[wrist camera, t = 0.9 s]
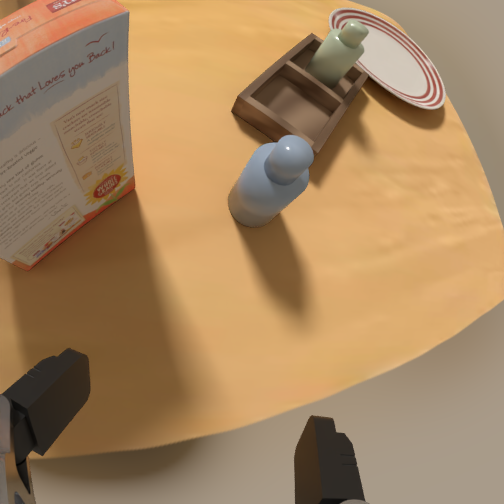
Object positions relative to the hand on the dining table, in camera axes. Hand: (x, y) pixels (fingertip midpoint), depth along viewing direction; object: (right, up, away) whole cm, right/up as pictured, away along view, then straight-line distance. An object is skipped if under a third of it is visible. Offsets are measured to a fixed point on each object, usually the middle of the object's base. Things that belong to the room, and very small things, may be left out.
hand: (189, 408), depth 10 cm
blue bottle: (+2, +10, +23) cm, 26 cm away
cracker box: (-16, +10, +18) cm, 26 cm away
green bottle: (+12, +31, +31) cm, 45 cm away
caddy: (+9, +27, +30) cm, 41 cm away
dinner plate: (+28, +42, +40) cm, 64 cm away
